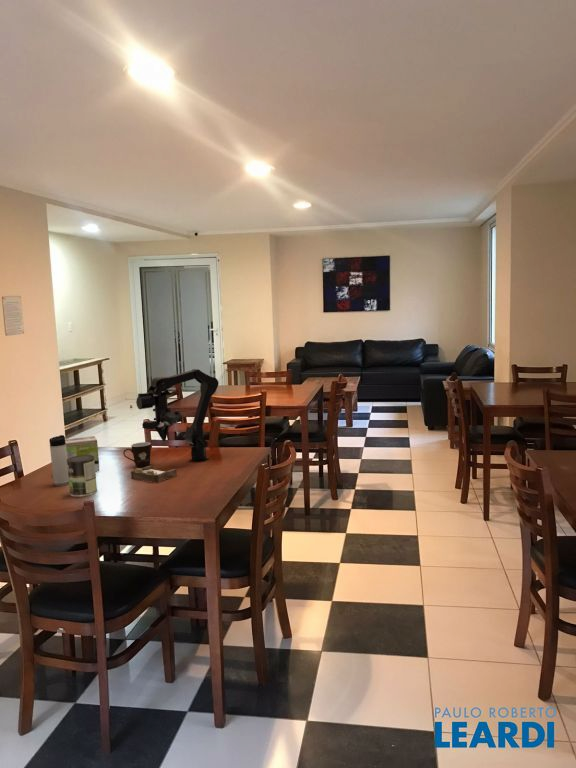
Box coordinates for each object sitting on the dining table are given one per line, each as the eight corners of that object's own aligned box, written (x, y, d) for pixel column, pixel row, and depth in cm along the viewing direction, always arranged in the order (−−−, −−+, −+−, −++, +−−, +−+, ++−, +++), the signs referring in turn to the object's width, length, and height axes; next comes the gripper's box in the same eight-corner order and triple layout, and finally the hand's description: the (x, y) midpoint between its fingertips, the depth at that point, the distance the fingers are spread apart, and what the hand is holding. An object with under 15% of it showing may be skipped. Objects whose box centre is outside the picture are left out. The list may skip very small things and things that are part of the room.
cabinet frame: (151, 471, 268) (150, 462, 268) (176, 476, 259) (175, 465, 259) (131, 478, 259) (130, 468, 259) (156, 483, 250) (155, 472, 250)
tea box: (64, 477, 268) (61, 443, 266) (62, 471, 277) (59, 439, 275) (100, 471, 274) (97, 439, 272) (97, 466, 283) (94, 435, 281)
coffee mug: (155, 463, 283) (153, 441, 282) (149, 468, 275) (147, 446, 273) (130, 463, 284) (128, 442, 283) (123, 469, 276) (121, 447, 274)
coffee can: (72, 498, 236) (69, 462, 234) (68, 492, 244) (64, 457, 243) (100, 493, 240) (96, 458, 239) (94, 487, 249) (91, 453, 248)
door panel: (151, 475, 265) (150, 466, 265) (168, 478, 258) (168, 470, 258) (138, 479, 260) (137, 470, 259) (155, 482, 253) (154, 474, 252)
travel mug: (73, 481, 259) (68, 435, 257) (63, 486, 253) (58, 438, 251) (61, 481, 261) (56, 434, 259) (50, 485, 255) (45, 438, 253)
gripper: (158, 410, 259) (161, 447, 261) (189, 403, 274) (192, 437, 276) (140, 409, 266) (143, 444, 268) (171, 402, 281) (174, 435, 283)
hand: (164, 440), depth 273 cm, fingers closed
